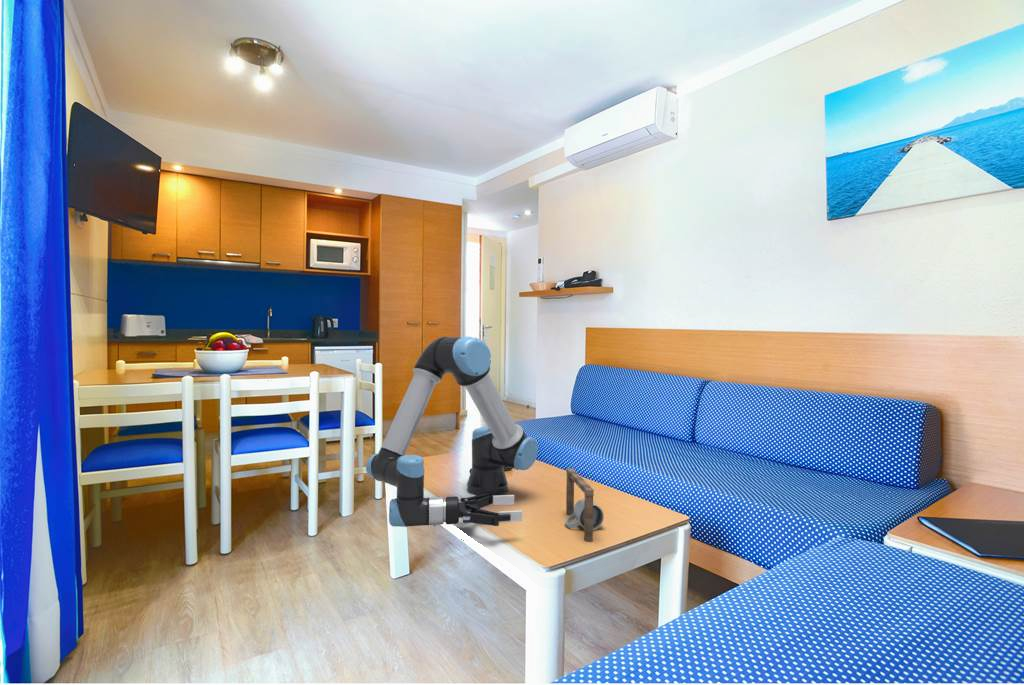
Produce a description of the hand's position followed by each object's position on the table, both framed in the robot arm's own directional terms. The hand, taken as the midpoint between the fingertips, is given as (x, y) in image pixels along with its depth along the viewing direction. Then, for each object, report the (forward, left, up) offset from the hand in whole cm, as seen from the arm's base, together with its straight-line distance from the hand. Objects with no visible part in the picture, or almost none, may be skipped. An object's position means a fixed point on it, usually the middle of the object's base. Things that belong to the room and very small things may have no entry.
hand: (517, 507), depth 143 cm
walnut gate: (-1, +19, -7) cm, 20 cm away
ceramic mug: (0, +20, -7) cm, 21 cm away
